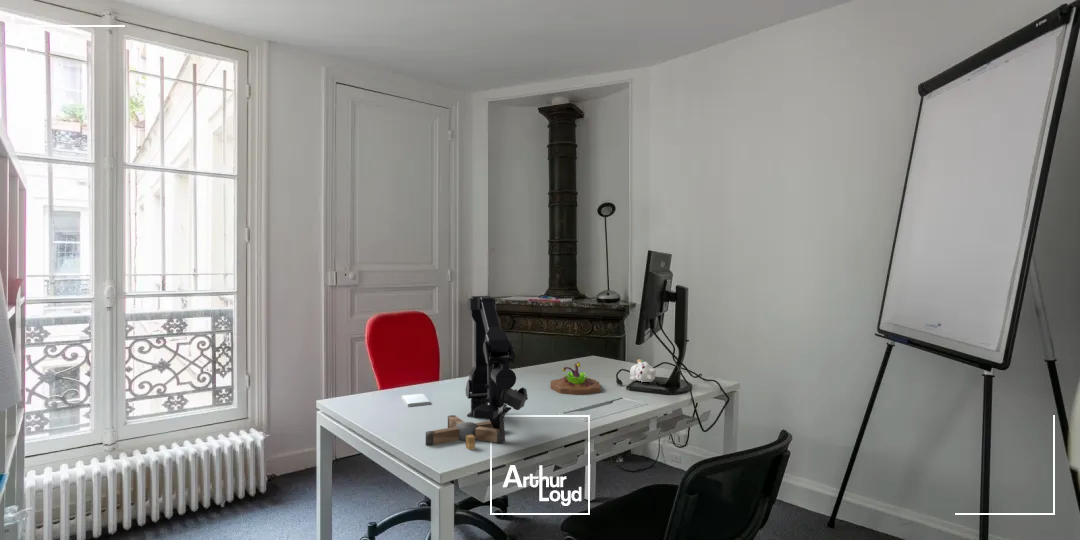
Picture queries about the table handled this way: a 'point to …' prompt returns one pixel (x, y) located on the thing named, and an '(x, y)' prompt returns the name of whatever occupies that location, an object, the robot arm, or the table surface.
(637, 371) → the cat figurine
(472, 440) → the stool base
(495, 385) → the robot arm
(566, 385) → the plant
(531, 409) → the table surface
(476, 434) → the folding leg
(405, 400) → the hard drive
